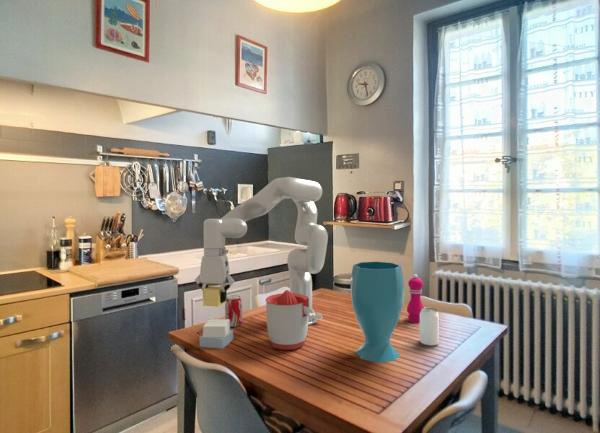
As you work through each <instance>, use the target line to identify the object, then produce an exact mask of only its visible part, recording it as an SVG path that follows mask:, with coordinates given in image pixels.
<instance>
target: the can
mask: <svg viewBox="0 0 600 433" xmlns="http://www.w3.org/2000/svg"><path fill="white" fill-rule="evenodd" d="M439 320H440V319H439V312H438V310H437V309H436V308H433V307H424V308H422V309H421V312H420V322H419V342H420V343H421V344H422V345H424V346H429V347H434V346H437V345H439V343H440V341H439V339H440V338H439V337H440V336H439V334H440V331H439V330H440V328H439V326H440V325H439V324H440V323H439V322H440V321H439Z"/></svg>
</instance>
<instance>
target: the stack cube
mask: <svg viewBox="0 0 600 433" xmlns="http://www.w3.org/2000/svg"><path fill="white" fill-rule="evenodd" d="M221 292H222V290H221V287H220V285H209V286H208V287H207V288H205V289H203V291H202V299H203V300H202V303H203V304H202V305H203V306H205V307H206V306H207V307H216V308H217V307H218V308H219V307H220V306H222V305H225V303H226V301H225V302H223V303H221V301H220V293H221Z"/></svg>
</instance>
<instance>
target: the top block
mask: <svg viewBox="0 0 600 433" xmlns="http://www.w3.org/2000/svg"><path fill="white" fill-rule="evenodd" d="M229 330H231V327H230V319H226V318H222V319H221V318H219V319H217V318H215V319H213V318H210V319H208V320H207V321H206V322H205V323H204V325H203V326H202V335H203V337H226V335H227V334H228V332H229Z"/></svg>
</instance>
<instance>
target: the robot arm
mask: <svg viewBox="0 0 600 433" xmlns="http://www.w3.org/2000/svg"><path fill="white" fill-rule="evenodd" d="M322 195H323V187H322V186H321V185H320V183H319V182H317V181H314V180H309V179H303V178H298V177H292V176H285V177H278V178H275V179H273V180H272V181H270V182H269V183H268V184H266V185H265V187H263V188H262V189H261V190H259V191H258V192H257V193H256V194H255V195H253V196H252V197H251V198H248V199H247V200H246V201H244V202H242V203H240V204H239V205H237V206H236V207H234V208H232V209H231V210H229V211H228V212H227V213H226V214H225V215H223V216H222V217H221V218H206V219H205V220H204V221H203V255H202V258H201V262H200V270H199V271H200V272H199V275H197V277H196V278H195V279H194V282H195V283H196V284H197V285H198V287H199V288H200V289H201V291H202V292H203V289H205V288H207V287H209V286H210V284H211V285H218V286H220V287H221V290H222V292H221V293H220V301H221V303H223V302H225V301H226V299H227V297H228V295H227V292H228V290H230V288H231V287H232V286H233V285H234V284H235V283H236V281H235V279H234V278H233V277H232V276H231V272H230V263H229V257H228V255H226V254H229V249H226V238H231V239H239V238H242V237H244V236H245V235H246V234H247V231H248V225H247V223H246V222H248V221H250V220H252V219H256V218H260V217H262V216H264V215H266V214H267V213H269V212H270V211H271V210H272V209H274V208H275V207H276V206H277V205H278V204H279V203H280V202H282V200H285V199H292V201H293V202H294V204H295V206H296V208H297V217H296V218H297V219H296V225H295V230H294V241H295V242H296V243H297V245H298V244H299V246H303V247H306V248H299V247H298V248H293V249H291V251H290V252H289V253H288V255H287V267H288V275H289V291H290V292H291V293H296V294H302V295H305V296H307V297H308V298H309V308H311V309H312V310H313V315H312V316H309V315H308V326H311V325H314V324H315V323H316V322H317V320H323V314H321V313H319V312H318V313H316V312H315V309H313V278H312V275H311V274H314V275H315V274H318V273H320V272H321V271H322V269H323V267H324V264H325V261H326V260H325V259H326V254H327V247H328V240H329V237H328V236H329V235H328V231H327V230H326V228H325V227H324V226H323V225H321V224H317V222H318V221H317V220H318V208H317V206H316V204H315V202H317V201H319V200H320V199H321V197H322Z"/></svg>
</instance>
